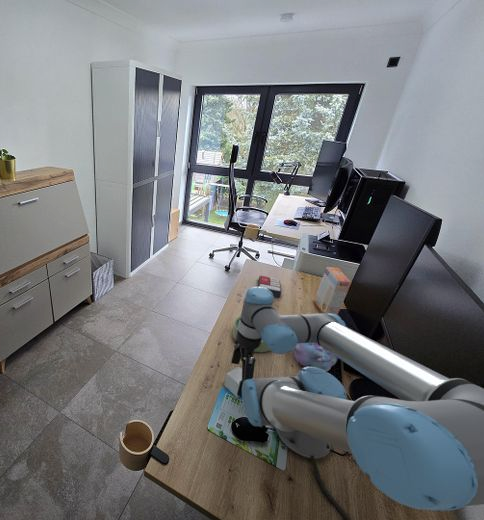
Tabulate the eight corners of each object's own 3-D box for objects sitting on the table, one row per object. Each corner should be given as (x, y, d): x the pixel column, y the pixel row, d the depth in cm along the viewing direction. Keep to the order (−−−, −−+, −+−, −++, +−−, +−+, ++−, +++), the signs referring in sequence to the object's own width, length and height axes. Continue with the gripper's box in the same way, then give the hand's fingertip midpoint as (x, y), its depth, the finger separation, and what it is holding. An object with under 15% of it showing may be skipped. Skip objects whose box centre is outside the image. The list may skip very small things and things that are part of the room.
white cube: (248, 389, 101) (252, 378, 99) (237, 397, 99) (240, 385, 96) (235, 377, 106) (238, 366, 103) (224, 385, 103) (226, 373, 100)
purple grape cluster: (270, 339, 117) (302, 322, 104) (298, 318, 128) (330, 300, 114) (306, 386, 110) (346, 374, 96) (332, 359, 121) (371, 345, 107)
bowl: (279, 355, 116) (282, 344, 113) (235, 350, 118) (237, 339, 115) (268, 327, 131) (271, 317, 128) (229, 323, 133) (231, 313, 131)
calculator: (280, 278, 163) (281, 290, 151) (278, 285, 165) (279, 297, 152) (259, 274, 167) (259, 286, 154) (258, 281, 169) (257, 293, 156)
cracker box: (336, 319, 137) (352, 282, 127) (323, 317, 138) (337, 280, 128) (326, 302, 149) (339, 267, 140) (313, 301, 150) (326, 266, 141)
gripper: (273, 364, 79) (256, 413, 89) (254, 309, 101) (242, 353, 111) (245, 361, 80) (232, 409, 90) (232, 306, 102) (223, 350, 112)
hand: (238, 378), depth 101 cm, fingers open, 13 cm apart
